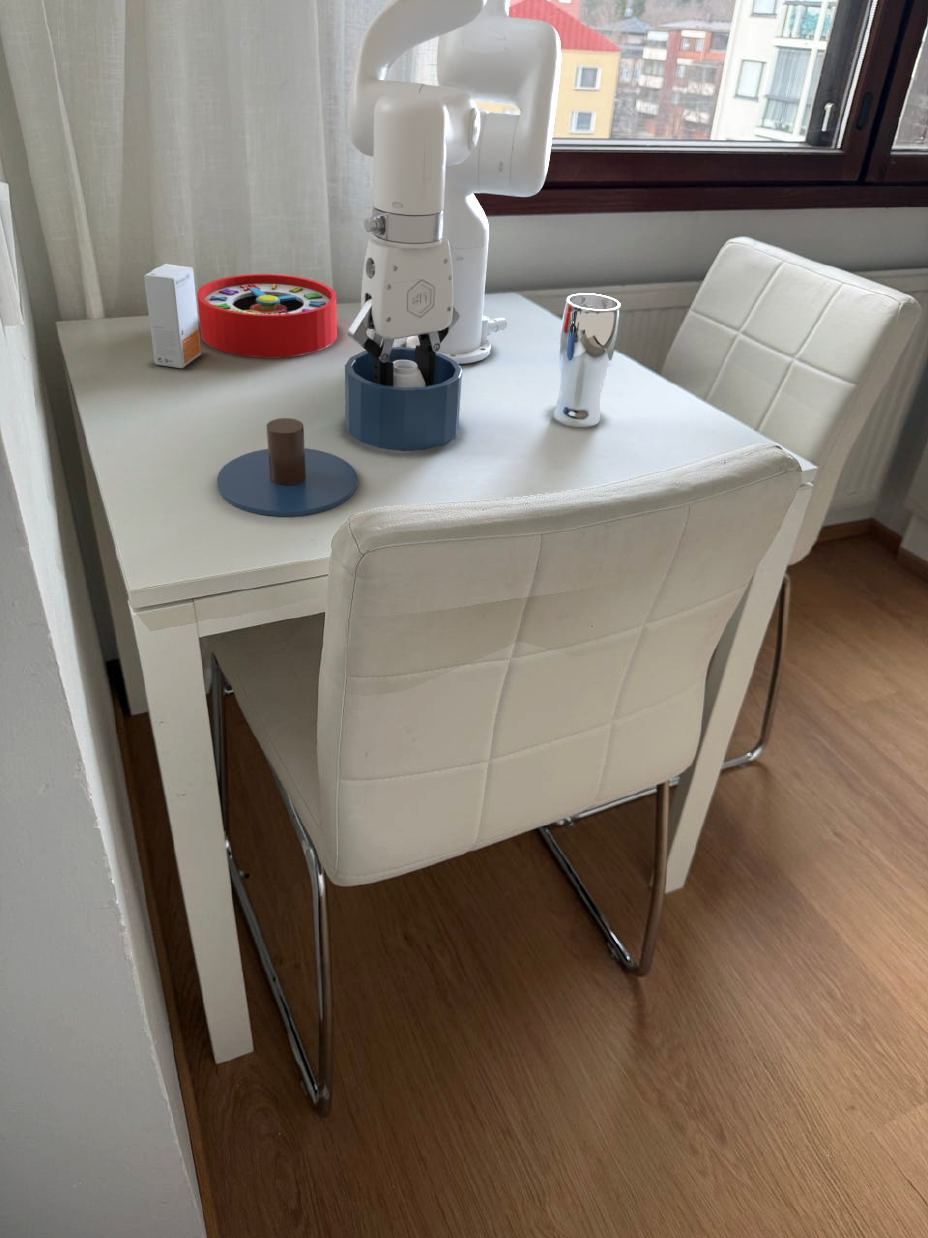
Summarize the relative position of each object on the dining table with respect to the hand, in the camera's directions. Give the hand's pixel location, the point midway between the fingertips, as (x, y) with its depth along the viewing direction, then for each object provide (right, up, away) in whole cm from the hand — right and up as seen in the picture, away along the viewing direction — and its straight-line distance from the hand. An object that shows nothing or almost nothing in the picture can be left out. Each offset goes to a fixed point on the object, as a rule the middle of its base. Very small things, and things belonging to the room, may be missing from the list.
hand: (403, 384), depth 109 cm
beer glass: (+22, -2, +10) cm, 24 cm away
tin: (0, -5, +3) cm, 6 cm away
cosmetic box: (-32, +8, +17) cm, 37 cm away
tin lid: (-12, -13, -11) cm, 21 cm away
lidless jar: (0, -1, 0) cm, 1 cm away
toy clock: (-22, +15, +28) cm, 38 cm away
